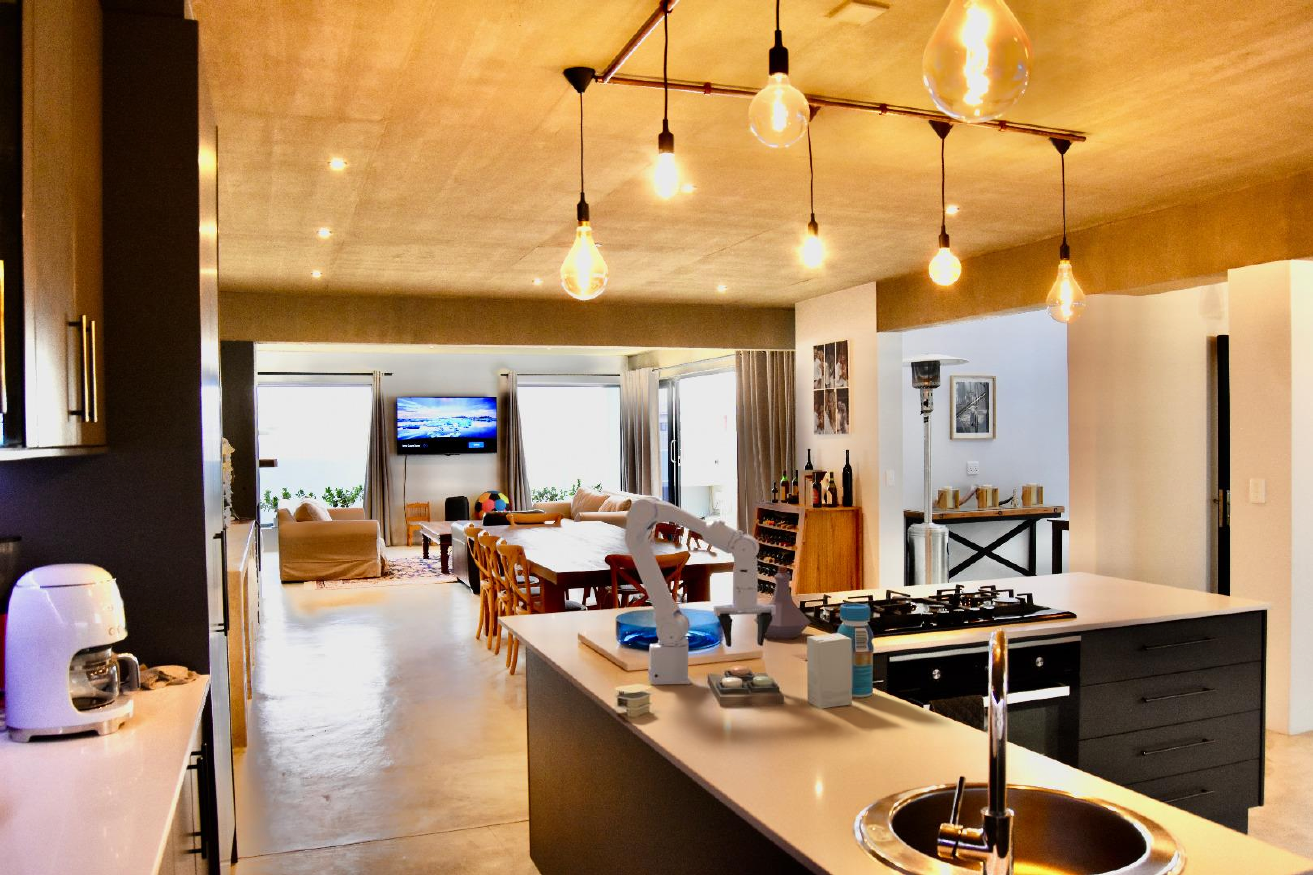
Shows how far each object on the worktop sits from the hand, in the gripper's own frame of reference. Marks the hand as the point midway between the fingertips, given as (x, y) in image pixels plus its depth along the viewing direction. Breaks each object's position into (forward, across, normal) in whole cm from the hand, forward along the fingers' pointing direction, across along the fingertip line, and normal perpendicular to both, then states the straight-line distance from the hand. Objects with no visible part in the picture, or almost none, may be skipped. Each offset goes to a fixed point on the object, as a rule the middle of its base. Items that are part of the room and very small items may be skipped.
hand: (744, 645), depth 230 cm
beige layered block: (+10, -29, -17) cm, 35 cm away
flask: (+10, +26, +52) cm, 59 cm away
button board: (+9, -2, -6) cm, 12 cm away
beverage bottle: (+9, +23, -11) cm, 27 cm away
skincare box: (+10, +14, -18) cm, 25 cm away
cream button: (+7, -6, -11) cm, 14 cm away
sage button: (+7, +1, -11) cm, 13 cm away
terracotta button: (+7, -1, -1) cm, 8 cm away
